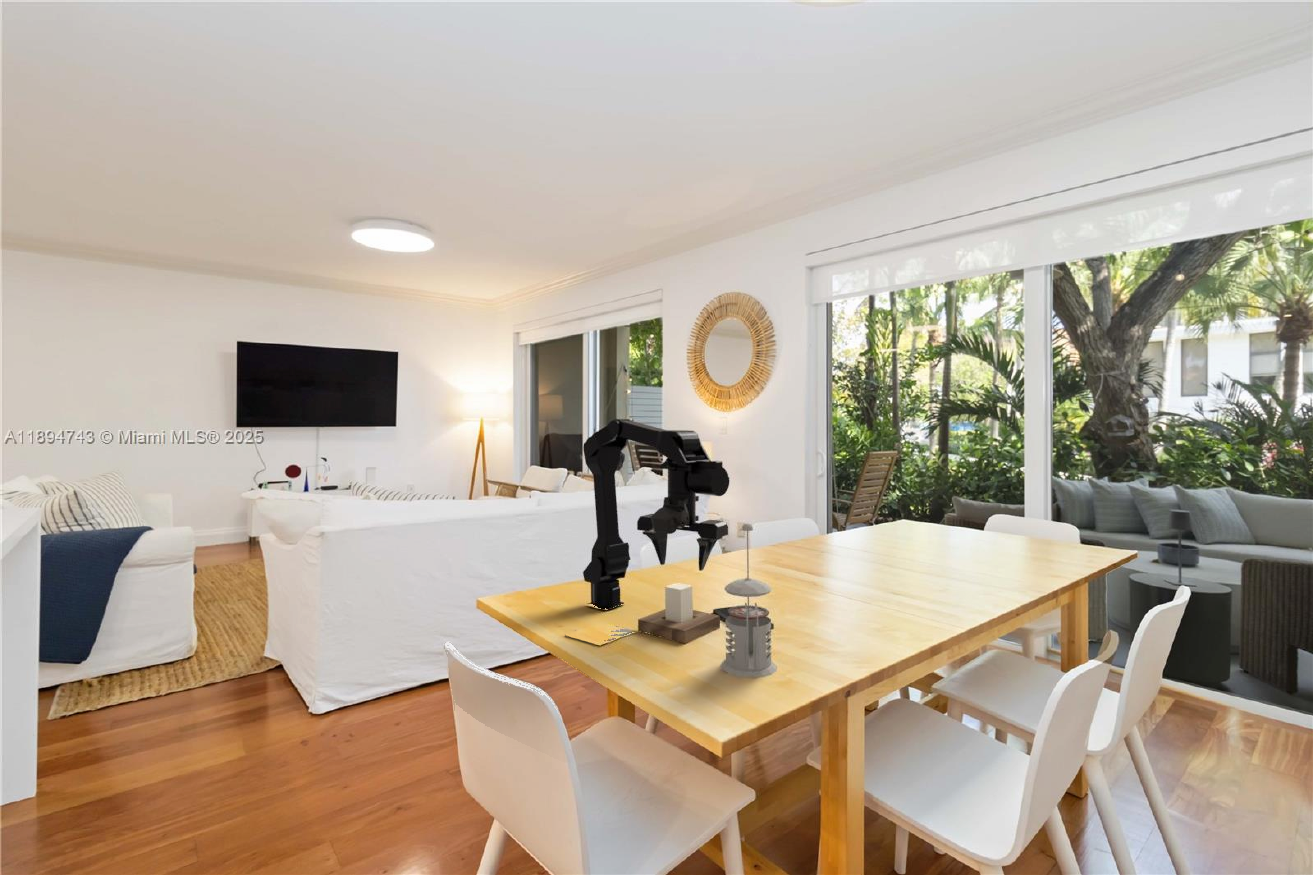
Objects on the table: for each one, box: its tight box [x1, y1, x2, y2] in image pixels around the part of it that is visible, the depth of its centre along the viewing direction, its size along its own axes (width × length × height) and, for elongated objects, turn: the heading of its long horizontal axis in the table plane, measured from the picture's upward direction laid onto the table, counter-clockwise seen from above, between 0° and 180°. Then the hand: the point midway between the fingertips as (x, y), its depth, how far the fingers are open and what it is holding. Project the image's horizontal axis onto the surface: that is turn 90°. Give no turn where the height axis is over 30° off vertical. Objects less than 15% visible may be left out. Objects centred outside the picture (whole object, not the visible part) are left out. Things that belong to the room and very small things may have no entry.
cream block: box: [664, 582, 694, 623], centre depth 130 cm, size 4×4×9 cm
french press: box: [720, 523, 778, 679], centre depth 109 cm, size 10×12×25 cm
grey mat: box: [604, 625, 636, 641], centre depth 128 cm, size 10×10×1 cm
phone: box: [712, 606, 775, 631], centre depth 136 cm, size 8×1×15 cm
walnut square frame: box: [637, 608, 721, 645], centre depth 130 cm, size 12×12×2 cm
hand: (681, 567), depth 130 cm, fingers open, 9 cm apart
